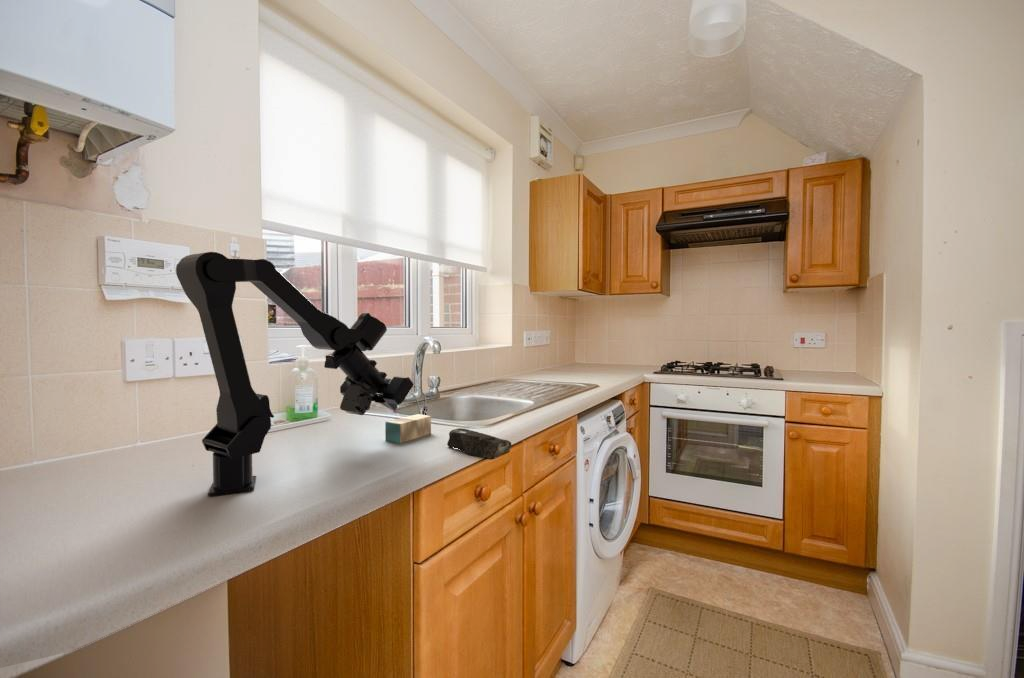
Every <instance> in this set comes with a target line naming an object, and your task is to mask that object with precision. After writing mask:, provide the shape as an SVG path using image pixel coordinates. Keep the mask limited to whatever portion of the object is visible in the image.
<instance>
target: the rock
mask: <svg viewBox="0 0 1024 678" xmlns="http://www.w3.org/2000/svg"><path fill="white" fill-rule="evenodd" d="M448 435H449V436H448V437H449V438H448V441H447V446H448V447H450V448H452V447H454V448H458V449H460V450H461V451H460V452H463V453H465V454H466V455H469V456H472V457H475V458H476V457H477V458H481V459H487V460H490V461H491V460H495V459H498V458H500V457H502V456H505V455H507V454H509V453H510V450H511V447H512V442H511V441H510V440H507V439H502V438H499V437H495V436H492V435H490V434H487V433H482V432H479V431H475V430H470V429H466V428H461V427H460V428H454V429H452V430H450V431H449V433H448Z"/></svg>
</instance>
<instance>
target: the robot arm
mask: <svg viewBox="0 0 1024 678" xmlns="http://www.w3.org/2000/svg"><path fill="white" fill-rule="evenodd" d="M175 274H176V277H177V279H178V281H179V284H180V285H181V286H180V287H181V288H182V290H183V292H184V295H185V296H186V297H187V298H188V300H190V302H191V303H192V305H193V306H194V307H195V308H196V310H197V311H198V312H197V313H198V315H199V317H200V321H201V326H202V329H203V333H204V337H205V341H206V344H207V348H208V352H209V356H210V359H211V365H212V367H213V372H214V375H215V378H216V383H217V386H218V391H219V397H218V402H217V404H216V424H214V426H213V427H212V428H211V429H210V431H209V432H208V433H207V434H206V435H205V436H204V437H203V438H202V439H201V443H202V444H203V447H204V449H205V451H207V452H211V453H212V484H211V485H210V488H209V490H208V492H207V496H209V497H213V496H219V495H227V494H233V493H234V494H235V493H240V492H241V493H242V492H250V491H254V490H255V487H256V482H257V475H253V455H254V454H257V453H260V452H261V450H262V447H263V444H264V440H265V437H266V435H267V434H268V433H269V431H270V430H271V428H272V420H271V418H274V417H275V416H274V414H273V413H272V411H271V408H270V407H271V406H270V398H269V396H268V395H267V394H262V393H261V394H260V393H256V391H255V390H254V389H253V387H252V383H251V379H250V375H249V371H248V367H247V362H246V359H245V355H244V351H243V346H242V343H241V339H240V334H239V330H238V327H237V321H236V319H235V314H234V310H233V303H234V299H235V294H236V290H237V285H236V284H237V283H244V282H245V283H247V282H248V283H251V284H252V285H253V286H255V287H256V288H257V289H258V290H259V291H260V292H261V293H263V294H264V295H265V296H266V297H267V298H268V299H270V301H272V302H273V303H274V304H275V305H276V306H277V307H279V308H280V310H282V311H283V312H284V313H285V314H287V315H288V316H289V317H290V318H292V319H291V320H294V322H296V324H297V325H298V326H299V327H300V330H301V333H302V335H303V336H304V337H305V339H306V340H307V341H308V343H309V344H310V345H311V346H312V347H313V348H315V349H317V350H326V351H332V353H331V354H330V355H329V354H328V355H327V354H326V355H325V361H324V368H325V369H331V370H332V369H333V370H337V369H338V368H339V369H340V370H341V371H342V372H343V373H344V375H346V377H345V378H344V381H343V382H342V383H341V385H340V386H339V393H340V394H341V395H342V396H343V397H342V400H341V403H340V405H339V409H340V410H341V411H344V412H346V413H349V414H352V415H358V416H364V415H365V414H366V412H367V411H369V410H370V407H371V405H372V402H373V403H376V404H378V403H379V404H380V405H382V406H384V408H385V407H386V408H388V409H389V410H391V411H397V409H398V406H400V405H401V404H403V402H404V401H405V399H406V397H407V396H408V394H409V393H410V391H411V390H412V388H413V387H414V384H415V383H414V382H413V380H412V379H411V378H410V377H409V376H400V375H398V376H393V377H392V379H391V378H386V377H387V376H388V374H387V373H386V372H384V371H380V370H379V369H378V368H377V367H376V365H377V364H378V362H377V361H376V360H375V359H369V358H368V357H367V355H366V354H365V353H364V352H366V351H369V352H370V351H373V350H374V348H375V347H376V346H377V344H378V343H379V342H380V341H381V340H382V338H383V337H384V335H385V334H386V332H387V331H388V328H387V326H386V324H385V323H384V322H383V321H381V320H380V319H378V318H377V317H375V316H372V315H371V313H369V312H362V313H360V315H359V316H358V317H357V320H356V321H355V322H354V323H353V325H352V326H351V327H350V328H349V327H348V325H347V324H346V323H344V322H342V321H341V320H340V319H339V318H337V317H336V316H333V315H332V314H329V313H326V312H324V311H322V310H321V309H319V308H318V307H317V306H316V305H315V304H314V303H313V302H312V301H310V299H308V298H307V297H306V296H305V295H304V294H303V293H302V292H301V291H300V290H299V289H298V288H297V287H296V286H295V285H293V283H292V282H290V280H288V279H287V278H286V277H285V276H284V275H283V274H282V273H281V272H280V271H279V270H278V269H276V266H275V265H274V264H273V262H271V261H270V260H268V259H265V258H259V259H246V258H228V257H227V256H225V255H224V254H222V253H220V252H216V251H207V252H199V253H194V254H189V255H186V256H184V257H182V258H181V259H180V261H179V262H178V263H177V264H176V266H175Z"/></svg>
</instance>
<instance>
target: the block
mask: <svg viewBox="0 0 1024 678" xmlns="http://www.w3.org/2000/svg"><path fill="white" fill-rule="evenodd" d="M384 432H385V434H384V435H385V437H384V438H385V439H384V440H385V441H387V442H391V443H396V444H402V443H403V442H407V441H411V440H414V439H417V438H420V437H424V436H427V435H431V434H432V416H431V415H426V414H420V413H416V414H413V415H408V416H404V417H401V418H396V419H393V420H389V421H388V420H387V421H385V431H384Z"/></svg>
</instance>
